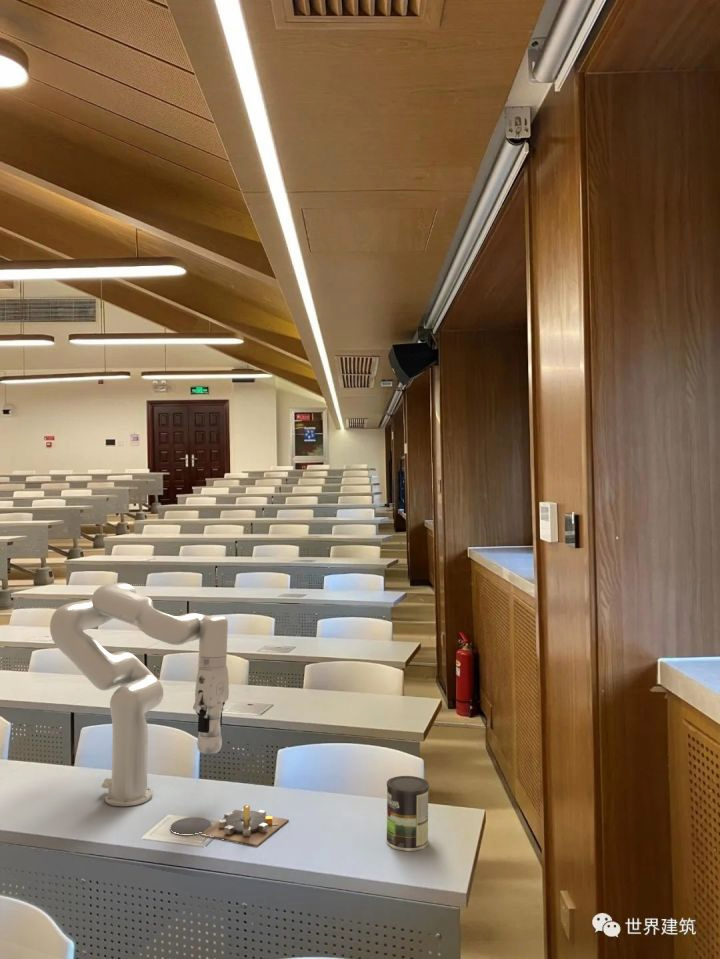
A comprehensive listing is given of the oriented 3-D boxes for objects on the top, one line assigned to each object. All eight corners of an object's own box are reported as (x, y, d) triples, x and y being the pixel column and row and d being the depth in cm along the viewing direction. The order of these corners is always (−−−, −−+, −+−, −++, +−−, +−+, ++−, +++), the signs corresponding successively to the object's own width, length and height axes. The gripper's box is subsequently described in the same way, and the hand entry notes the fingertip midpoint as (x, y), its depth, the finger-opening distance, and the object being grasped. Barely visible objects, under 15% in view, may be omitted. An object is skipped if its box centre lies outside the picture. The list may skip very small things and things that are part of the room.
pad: (162, 831, 183) (162, 829, 183) (186, 816, 193) (186, 814, 193) (195, 838, 180) (195, 836, 180) (218, 823, 189) (218, 821, 189)
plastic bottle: (216, 757, 196) (219, 681, 197) (192, 755, 198) (195, 679, 199) (225, 750, 203) (228, 676, 204) (202, 748, 204) (205, 675, 205)
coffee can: (396, 854, 172) (397, 793, 173) (379, 836, 182) (380, 778, 182) (436, 847, 176) (436, 787, 176) (417, 830, 185) (417, 773, 186)
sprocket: (236, 841, 176) (237, 814, 177) (209, 823, 186) (209, 798, 187) (282, 826, 185) (282, 801, 185) (253, 810, 195) (254, 786, 195)
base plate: (200, 835, 181) (200, 832, 181) (235, 811, 196) (235, 808, 196) (257, 847, 175) (257, 844, 175) (288, 821, 190) (288, 818, 190)
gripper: (206, 669, 192) (203, 739, 191) (240, 658, 208) (238, 723, 207) (182, 666, 195) (179, 735, 194) (218, 655, 211) (215, 719, 210)
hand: (209, 728), depth 200 cm, fingers closed on plastic bottle, 5 cm apart
